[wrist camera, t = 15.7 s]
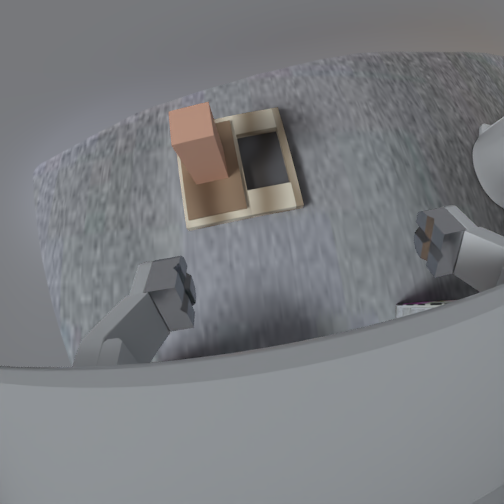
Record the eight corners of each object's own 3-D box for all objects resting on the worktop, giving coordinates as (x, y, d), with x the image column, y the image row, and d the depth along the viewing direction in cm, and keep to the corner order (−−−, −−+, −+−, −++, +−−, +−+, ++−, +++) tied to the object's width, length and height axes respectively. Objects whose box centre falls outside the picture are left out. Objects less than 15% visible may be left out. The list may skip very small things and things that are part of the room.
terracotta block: (223, 149, 43) (208, 101, 31) (228, 177, 42) (213, 135, 31) (192, 156, 43) (168, 111, 31) (196, 184, 43) (171, 145, 31)
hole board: (277, 112, 46) (277, 105, 44) (302, 207, 43) (304, 203, 41) (176, 133, 46) (173, 127, 44) (189, 230, 44) (185, 227, 42)
